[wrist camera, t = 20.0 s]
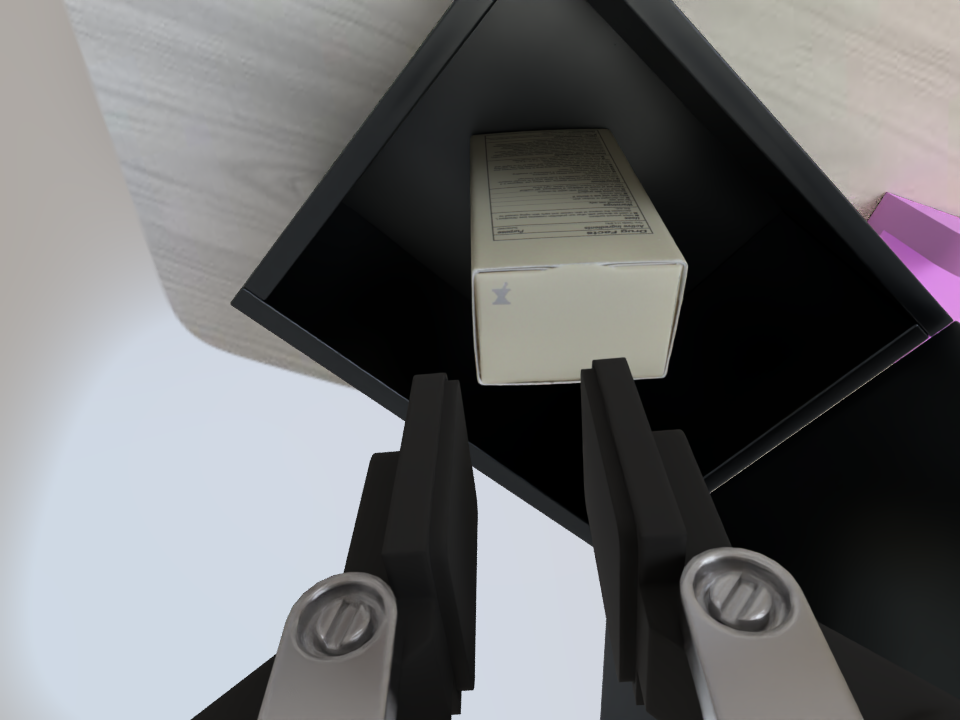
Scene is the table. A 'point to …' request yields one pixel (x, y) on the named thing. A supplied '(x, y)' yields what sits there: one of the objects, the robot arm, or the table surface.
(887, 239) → the bracket
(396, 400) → the black storage bin
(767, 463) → the bin lid
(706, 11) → the table surface
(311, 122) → the table surface
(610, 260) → the cosmetic box
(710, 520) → the robot arm
